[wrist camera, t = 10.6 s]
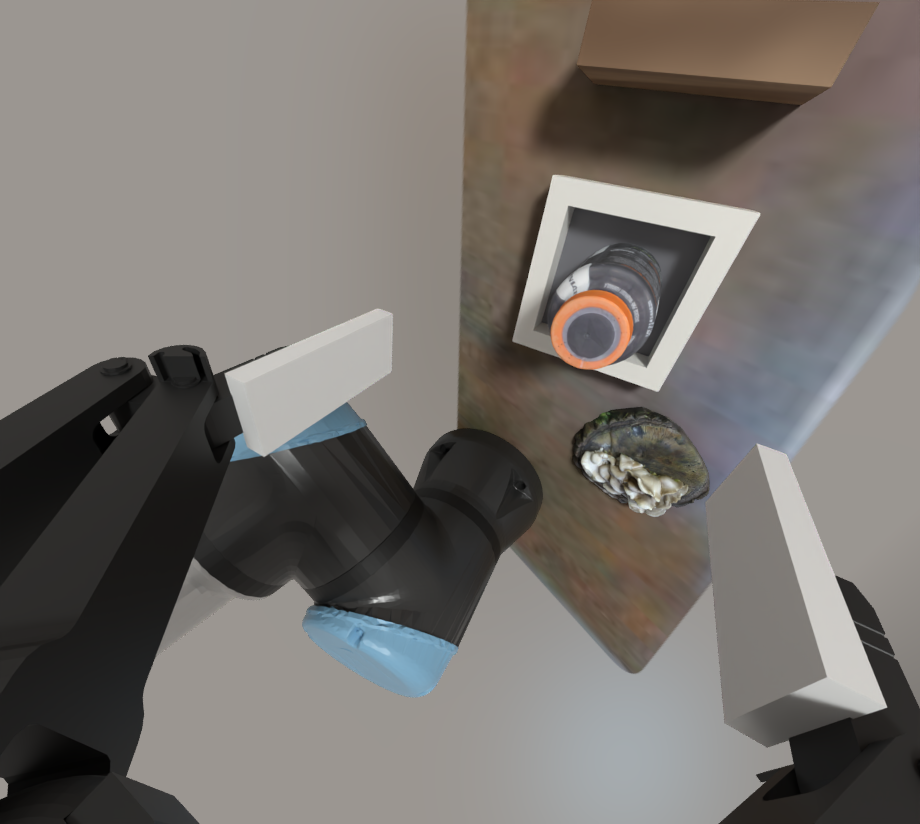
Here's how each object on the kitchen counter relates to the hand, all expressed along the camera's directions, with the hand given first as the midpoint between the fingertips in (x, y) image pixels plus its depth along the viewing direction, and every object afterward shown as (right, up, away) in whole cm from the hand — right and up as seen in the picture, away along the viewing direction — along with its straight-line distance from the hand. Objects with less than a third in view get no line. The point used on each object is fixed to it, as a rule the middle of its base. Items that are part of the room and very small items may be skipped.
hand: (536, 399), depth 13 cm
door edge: (+10, +19, +6) cm, 22 cm away
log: (+14, -5, +20) cm, 25 cm away
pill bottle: (+9, +9, +14) cm, 19 cm away
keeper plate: (+9, +9, +14) cm, 19 cm away
